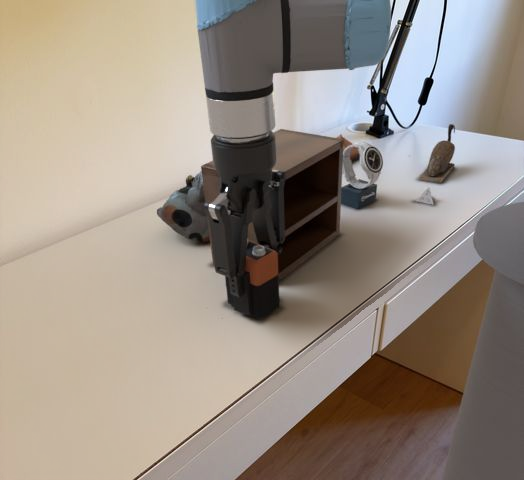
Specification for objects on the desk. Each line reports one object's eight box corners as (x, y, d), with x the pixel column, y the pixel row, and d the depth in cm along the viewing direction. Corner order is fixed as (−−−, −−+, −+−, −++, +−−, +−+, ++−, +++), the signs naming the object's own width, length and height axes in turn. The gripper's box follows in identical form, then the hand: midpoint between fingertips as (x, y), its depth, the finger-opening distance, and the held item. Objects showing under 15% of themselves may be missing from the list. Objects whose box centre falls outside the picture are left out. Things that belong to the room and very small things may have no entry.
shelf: (339, 234, 92) (343, 139, 82) (272, 285, 80) (267, 181, 70) (283, 219, 98) (281, 128, 88) (212, 265, 86) (200, 165, 76)
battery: (247, 291, 79) (242, 230, 73) (281, 308, 75) (279, 244, 69) (226, 304, 77) (219, 241, 70) (259, 321, 73) (255, 257, 66)
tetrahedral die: (437, 204, 102) (441, 188, 101) (433, 204, 100) (437, 188, 98) (420, 201, 103) (423, 185, 102) (415, 201, 101) (419, 185, 100)
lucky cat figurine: (197, 206, 104) (226, 142, 96) (240, 243, 101) (273, 180, 93) (142, 213, 92) (169, 140, 84) (189, 255, 89) (221, 184, 81)
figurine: (439, 158, 118) (445, 118, 113) (459, 161, 116) (467, 120, 111) (419, 180, 109) (425, 137, 104) (440, 183, 107) (448, 139, 102)
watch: (365, 211, 99) (370, 152, 92) (333, 200, 103) (335, 143, 97) (384, 202, 101) (390, 144, 95) (351, 192, 106) (354, 135, 99)
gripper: (263, 110, 68) (271, 268, 82) (164, 150, 57) (193, 325, 71) (312, 117, 64) (311, 282, 79) (216, 161, 53) (236, 343, 68)
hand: (255, 302), depth 75 cm, fingers closed on battery, 5 cm apart
